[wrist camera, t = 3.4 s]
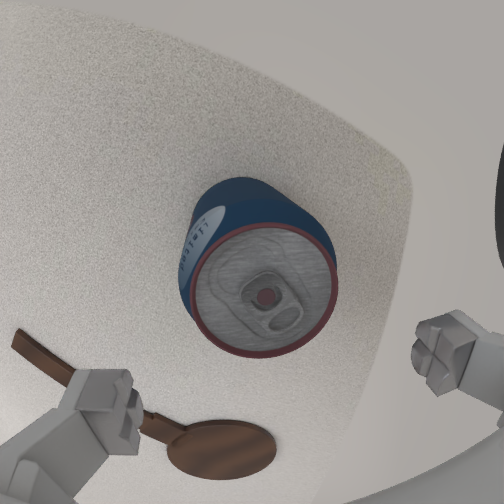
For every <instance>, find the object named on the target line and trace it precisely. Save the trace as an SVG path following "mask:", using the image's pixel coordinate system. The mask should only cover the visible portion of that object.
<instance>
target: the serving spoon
mask: <svg viewBox="0 0 504 504" xmlns="http://www.w3.org/2000/svg"><path fill="white" fill-rule="evenodd" d="M11 347H12V348H13V349H14V350H15V351H17V352H18V353H19V354H20V355H22V356H23V357H24V358H25V359H27V360H28V361H29V362H31V363H32V364H33V365H35V366H36V367H37V368H39V369H40V370H41V371H43V372H44V373H46V374H47V375H48V376H50V377H51V378H53V379H54V380H56V381H57V382H59V383H60V384H62V385H63V386H65V387H66V388H67V386H68V384H69V382H70V380H71V378H72V376H73V374H74V372H75V371H76V370H75V369H73V368H72V367H70V366H69V365H67V364H66V363H64V362H63V361H62V360H60V359H59V358H57V357H56V356H55V355H53V354H52V353H50V352H49V351H48V350H46V349H45V348H44V347H42V346H41V345H40V344H38V343H37V342H36V341H34V340H33V339H32V338H31V337H29V336H28V335H27V334H26V333H24V332H23V331H22V330H21V329H18V330H17V331H16V333H15V336H14V339H13V342H12V345H11ZM143 414H144V417H143V424H142V425H141V426H140V427H139V428H138V429H140V432H141V433H143V434H145V435H147V436H149V437H151V438H153V439H156V440H158V441H160V442H162V443H165V444H167V445H168V446H167V455H168V458H169V460H170V461H171V463H172V464H173V465H174V466H175V467H177V468H178V469H179V470H181V471H183V472H185V473H187V474H189V475H192V476H195V477H199V478H203V479H210V480H231V479H238V478H243V477H246V476H249V475H252V474H255V473H257V472H259V471H261V470H263V469H264V468H265V467H267V466H268V465H269V464H270V463H271V462H272V461H273V459H274V458H275V455H276V450H277V449H276V444H275V441H274V438H273V437H272V436H271V435H270V434H269V433H268V432H267V431H266V430H264V429H262V428H260V427H258V426H256V425H253V424H250V423H246V422H241V421H233V420H212V421H204V422H200V423H195V424H192V425H189V426H187V427H184V426H182V425H180V424H178V423H176V422H174V421H171V420H169V419H167V418H165V417H163V416H161V415H159V414H157V413H155V414H154V415H152V414H150V413H148V412H146V411H144V410H143Z"/></svg>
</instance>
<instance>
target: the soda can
mask: <svg viewBox="0 0 504 504" xmlns="http://www.w3.org/2000/svg"><path fill="white" fill-rule="evenodd" d="M178 283H179V290H180V295H181V298H182V301H183V303H184V306H185V308H186V309H187V311H188V313H189V314H190V316H191V317H192V318H193V320H194V321H195V322H196V324H197V326H198V328H199V329H200V331H201V332H202V333H203V334H204V335H205V337H206V338H207V339H208V340H210V341H211V342H212V343H213V344H215V345H216V346H217V347H219V348H221V349H222V350H224V351H226V352H228V353H231V354H234V355H237V356H241V357H246V358H258V359H260V358H271V357H276V356H281V355H284V354H287V353H289V352H292V351H294V350H296V349H298V348H300V347H302V346H303V345H305V344H306V343H308V342H309V341H310V340H311V339H313V338H314V337H315V336H316V335H317V334H318V333H319V332H320V331H321V330H322V328H323V327H324V326H325V324H326V323H327V321H328V320H329V318H330V316H331V314H332V312H333V310H334V307H335V304H336V300H337V295H338V276H337V263H336V255H335V251H334V248H333V245H332V242H331V240H330V238H329V236H328V234H327V232H326V231H325V230H324V228H323V227H322V226H321V224H320V223H319V222H318V221H317V220H316V219H315V218H314V217H313V216H311V215H310V214H309V213H307V212H306V211H305V210H303V209H302V208H301V207H299V206H298V205H296V204H295V203H294V202H292V201H291V200H290V199H288V198H287V197H285V196H284V195H283V194H281V193H280V192H278V191H277V190H275V189H274V188H273V187H271V186H270V185H268V184H266V183H265V182H262V181H260V180H257V179H253V178H247V177H237V178H231V179H227V180H224V181H222V182H220V183H218V184H216V185H214V186H213V187H211V188H210V189H209V190H208V191H207V192H206V193H205V194H204V195H203V196H202V197H201V198H200V200H199V201H198V203H197V205H196V207H195V209H194V212H193V215H192V219H191V222H190V226H189V229H188V233H187V237H186V240H185V244H184V248H183V251H182V255H181V259H180V263H179V270H178Z"/></svg>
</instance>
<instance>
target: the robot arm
mask: <svg viewBox="0 0 504 504" xmlns="http://www.w3.org/2000/svg"><path fill="white" fill-rule="evenodd" d="M415 334H416V336H417V338H418V339H417V340H416V342H415V343H414V345H413V346H412V351H411V360H412V365H413V367H414V369H415V370H416V372H417V373H418V374H419V375H422V376H424V377H426V384H427V385H428V386H429V387H430V389H431V390H432V391H433V392H434V394H435V395H436V396H437V397H438V396H440V395H443V394H445V393H447V392H450V391H452V390H454V389H456V388H458V390H460V391H463V392H465V393H466V394H468V395H471V396H472V397H475V398H476V399H479V400H481V401H483V402H485V403H487V404H489V405H491V406H493V407H495V408H497V409H499V410H501V411H503V413H502V415H501V416H500V418H499V420H498V422H497V426H498V427H499V428H500V429H498V430H497V431H495V432H494V433H492V434H491V435H490V436H488V437H486V438H485V439H483V440H482V441H480V442H479V443H477V444H475V445H474V446H472V447H471V448H469V449H467V450H466V451H464V452H462V453H461V454H459V455H457V456H455V457H453V458H452V459H450V460H448V461H446V462H444V463H442V464H440V465H439V466H437V467H435V468H433V469H430V470H428V471H426V472H424V473H422V474H420V475H418V476H416V477H414V478H411V479H409V480H407V481H405V482H402V483H400V484H397V485H395V486H393V487H390V488H388V489H385V490H382V491H380V492H377V493H374V494H372V495H369V496H366V497H363V498H360V499H357V500H354V501H351V502H347V503H344V504H504V335H502V334H499V333H495V332H492V333H489V332H488V331H486V330H485V329H484V328H483V327H482V326H480V325H479V324H478V323H476V322H475V321H474V320H473V319H471V318H470V317H469V316H467V315H466V314H465V313H464V312H462V311H460V310H454V311H451V312H448V313H445V314H444V315H440V316H437V317H434V318H431V319H427V320H424V321H421V322H419V324H418V326H417V328H416V332H415ZM133 381H134V380H133V378H132V376H131V373H130V371H129V370H127V369H78V370H76V371H75V372H74V374H73V376H72V378H71V380H70V382H69V384H68V386H67V388H66V390H65V393H64V395H63V397H62V399H61V401H60V404H59V406H58V408H57V409H56V408H52V409H51V410H50V411H48V412H47V413H45V414H44V415H43V416H41V417H40V418H39V419H37V420H36V421H34V422H33V423H32V424H30V425H29V426H28V427H26V428H25V429H23V430H22V431H21V432H19V433H18V434H16V435H15V436H14V437H12V438H11V439H9V440H8V441H7V442H5V443H4V444H2V445H1V446H0V504H78V503H77V502H76V501H75V500H74V499H73V498H74V496H75V495H76V494H77V493H78V492H79V491H80V490H81V488H82V487H83V486H84V485H85V484H86V483H87V481H88V480H89V479H90V478H91V477H92V476H93V474H94V473H95V472H96V471H97V470H98V469H99V467H100V466H101V465H102V464H103V463H104V462H105V460H106V459H107V458H108V457H109V456H108V455H138V450H139V443H140V435H139V433H138V431H137V429H138V428H139V427H140V426H141V425H142V424H143V417H144V414H143V404H142V400H141V397H140V395H139V392H137V391H136V390H135V389H133V388H132V385H133Z"/></svg>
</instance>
